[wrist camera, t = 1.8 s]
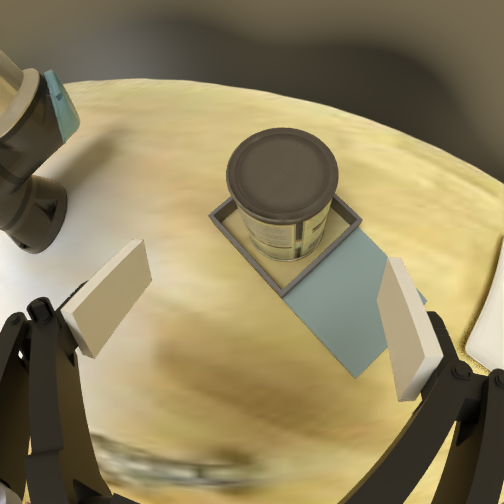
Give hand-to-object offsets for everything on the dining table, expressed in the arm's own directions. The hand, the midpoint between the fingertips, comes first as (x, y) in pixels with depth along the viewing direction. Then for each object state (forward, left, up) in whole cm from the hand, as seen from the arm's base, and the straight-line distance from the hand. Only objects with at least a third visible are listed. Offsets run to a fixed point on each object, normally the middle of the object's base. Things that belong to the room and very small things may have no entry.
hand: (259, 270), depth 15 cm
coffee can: (-7, +8, -22) cm, 25 cm away
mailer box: (0, +8, -22) cm, 23 cm away
